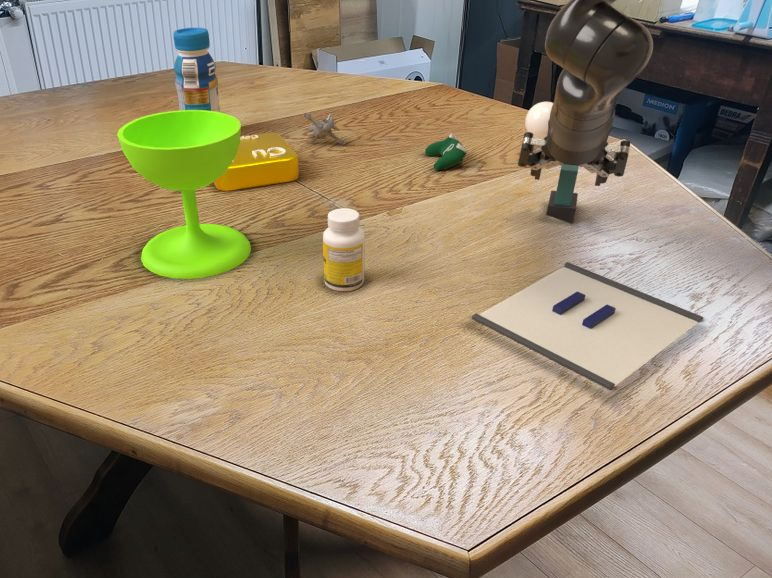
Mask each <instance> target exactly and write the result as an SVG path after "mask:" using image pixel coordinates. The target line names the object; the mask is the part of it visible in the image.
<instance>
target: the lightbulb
mask: <svg viewBox="0 0 772 578" xmlns="http://www.w3.org/2000/svg"><path fill="white" fill-rule="evenodd" d="M553 103H554V102H552V101H540V102H538V103H535V104H534V105H532V107H531V108H529V110H528V111H527V113H526V115H525V119H524V127H525V130H526V132H531V133H533V138H536V139H544V138H545V137H546V136H547V132H548V121H549V118H550V112H551V108H552V106H553ZM539 149H541V148H539ZM539 149H536V151H537V150H539ZM534 152H535V151H533V153H534Z"/></svg>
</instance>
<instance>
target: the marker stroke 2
mask: <svg viewBox="0 0 772 578" xmlns="http://www.w3.org/2000/svg"><path fill="white" fill-rule="evenodd" d="M615 309H616V308H614V307H612V306H610V305H605V306H603V307H602V308H600V309H599V310H597V311H596V312H594V313H593V314H591V315H590V316H588V317H586V318H585V319H583V323H582V325H583V326H585V327H588V328H590V329H592V328H593V327H595V326H596V325H598V324H599V323H601V322H602V321H604V320H605V319H607V318H608V317H610V316H611V315H613V314H614V313H615Z"/></svg>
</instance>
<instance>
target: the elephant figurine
mask: <svg viewBox="0 0 772 578" xmlns="http://www.w3.org/2000/svg"><path fill="white" fill-rule="evenodd" d="M303 117H304V118H305V119H307V121H310V122H311V123H312V124H310V125H309V126H308V129H307V130H308V132H309V133H312V132H313V134H314V138H313V139H312V140H311V141H310V142H311V143H310V144H313V143H314V142H315V141H316V140H317V139H324V138H326V137H327V136H328V137H331V138H332V139H334V140H335V141H336V142H337V143H338V144H340V145H341V146H344V145H345V144H346V142H345V141H344V140H343V139H344V136H342V137H339V136H337V135H335V134H334V133H333V131H332V129H333V130H334V131H338V132H340V128H339V127H338V126H336V125H335V123H334V122H335V120H336V119H337V117H334V116H332V113H329V115H328V116H327V118H325V117H323V116H322V117H321V121H317V120H316V119H314V118H313V117H312V116H311V111H309V113H307V111H305V112H303Z"/></svg>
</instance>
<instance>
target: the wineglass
mask: <svg viewBox="0 0 772 578" xmlns="http://www.w3.org/2000/svg"><path fill="white" fill-rule="evenodd" d="M241 131H242V125H241V121H240V120H239V119H238V118H237V117H235V116H234V115H231V114H228V113H224V112H221V111H220V112H216V111H207V110H180V109H179V110H170V111H163V112H157V113H153V114H152V113H151V114H148V115H144V116H142V117H138V118H136V119H132V120H131V121H129V122H126V123H125V124H124V125H122V126H121V127H120V128H118V131H117V139H118V142H119V145H120V148H121V151H122V152H123V154H124V156H125V157H126V159H127V161H128V162H129V164H130V166H131V167H132V169H133V170H134V171H136V172H137V173H138V174H139V176H141V177H142V178H143V179H145V180H146V181H148V182H149V183H151V184H153V185H156V187H157V186H158V187H160V188H162V189H164V190H168V191H178V192H180V193H181V199H182V206H183V213H184V219H185V225H180V226H176V227H172V228H170V229H167V230H164V231H163V232H160V233H158V234H156V235H155V236H153V237H152V238H151V239H150V240H149V241H147V243H146V244H145V245H144V247H143V248H142V251H141V257H140V261H141V263H142V265H143V266H144V268H146V269H147V270H148V271H149V272H151V273H154V274H155V275H157V276H160V277H166V278H169V279H177V280H178V279H179V280H181V279H183V280H192V279H204V278H209V277H213V276H214V277H215V276H217V275H221V274H224V273H227V272H229V271H232V270H233V269H235V268H237V267H239V266H240V265H242V264H243V263H244V262H245V261H246V260H247V259H248V258H249V257H250V255H251V251H252V247H251V242H250V241H249V239H248V238H247V237H246V235H245V234H244V233H242V232H241V231H239V230H237V229H236V228H233V227H230V226H228V225H222V224H217V223H200V216H199V211H198V210H199V209H198V201H197V194H196V190H198V189H202V188H205V187H207V186H210V185H211V184H214V183H213V182H214V181H215V180H216V179H218V178H219V177H220V176H222V175H223V174H224V173H225V172H226V170H227V169H228V167H229V166H230V165H231V163H232V162H233V160H234V158H235V157H236V154H237V151H238V148H239V145H240V137H241Z"/></svg>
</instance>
